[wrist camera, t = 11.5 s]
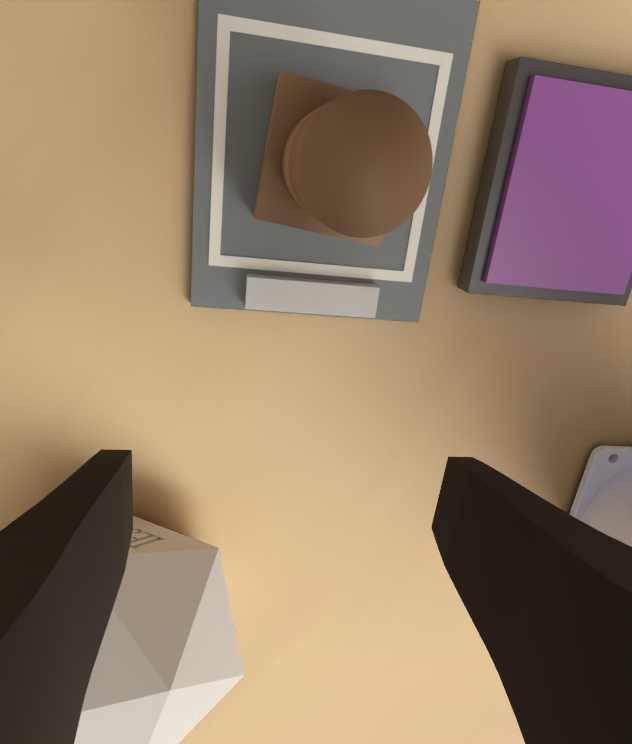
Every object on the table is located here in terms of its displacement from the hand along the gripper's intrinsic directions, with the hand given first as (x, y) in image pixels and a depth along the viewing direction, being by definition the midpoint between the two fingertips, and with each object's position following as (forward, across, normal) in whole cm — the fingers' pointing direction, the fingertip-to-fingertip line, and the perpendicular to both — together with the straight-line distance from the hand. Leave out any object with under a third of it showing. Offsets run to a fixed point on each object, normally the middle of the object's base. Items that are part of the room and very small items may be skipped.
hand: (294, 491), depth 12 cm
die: (+10, +5, +11) cm, 16 cm away
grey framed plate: (+10, -2, -7) cm, 12 cm away
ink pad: (+10, -11, -7) cm, 16 cm away
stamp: (+10, -2, -7) cm, 12 cm away
